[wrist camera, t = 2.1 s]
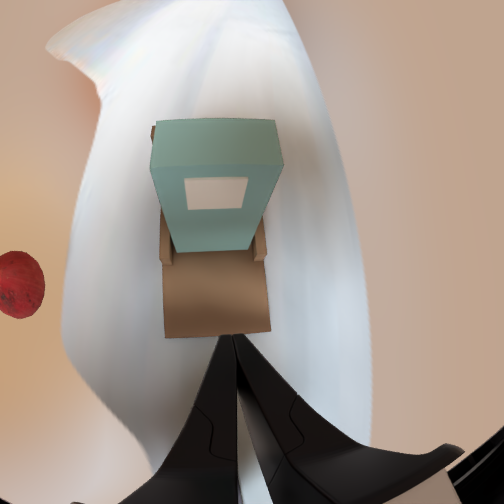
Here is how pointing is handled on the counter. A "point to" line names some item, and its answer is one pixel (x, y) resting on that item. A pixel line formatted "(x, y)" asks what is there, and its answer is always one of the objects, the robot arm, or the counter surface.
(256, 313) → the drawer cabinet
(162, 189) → the green rectangular block
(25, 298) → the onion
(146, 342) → the counter surface
